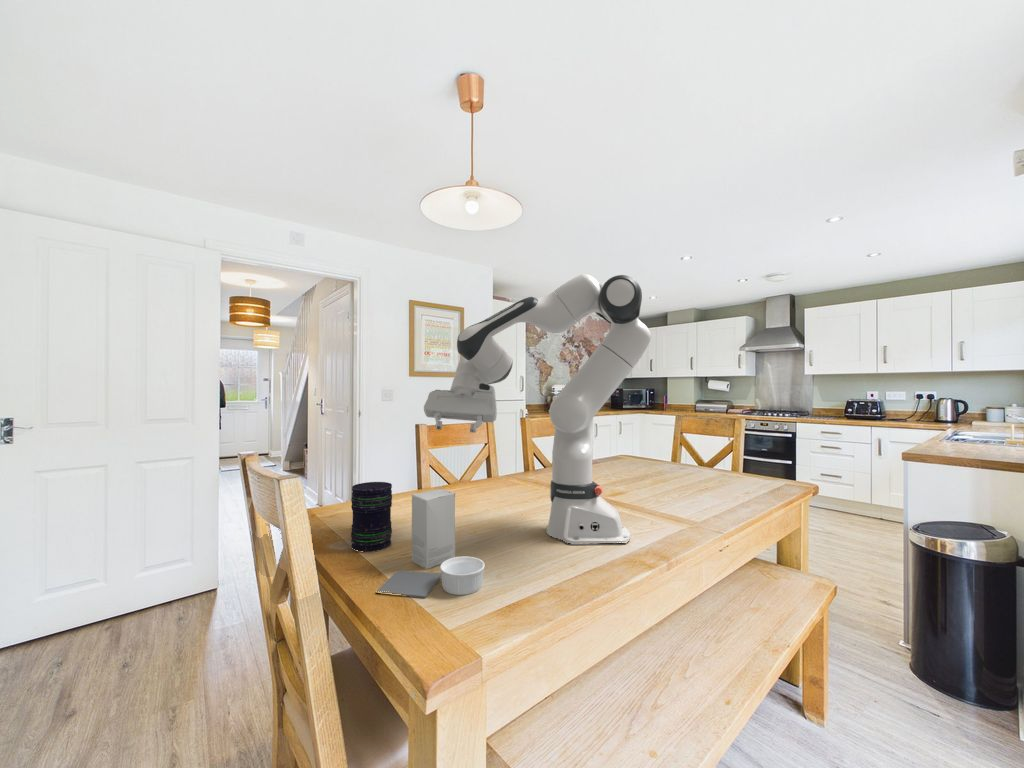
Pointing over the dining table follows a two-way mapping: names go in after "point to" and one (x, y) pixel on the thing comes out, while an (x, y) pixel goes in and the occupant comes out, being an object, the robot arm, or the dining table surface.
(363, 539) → the black cylinder
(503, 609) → the dining table surface
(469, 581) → the ramekin
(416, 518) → the skincare box
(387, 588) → the mat
